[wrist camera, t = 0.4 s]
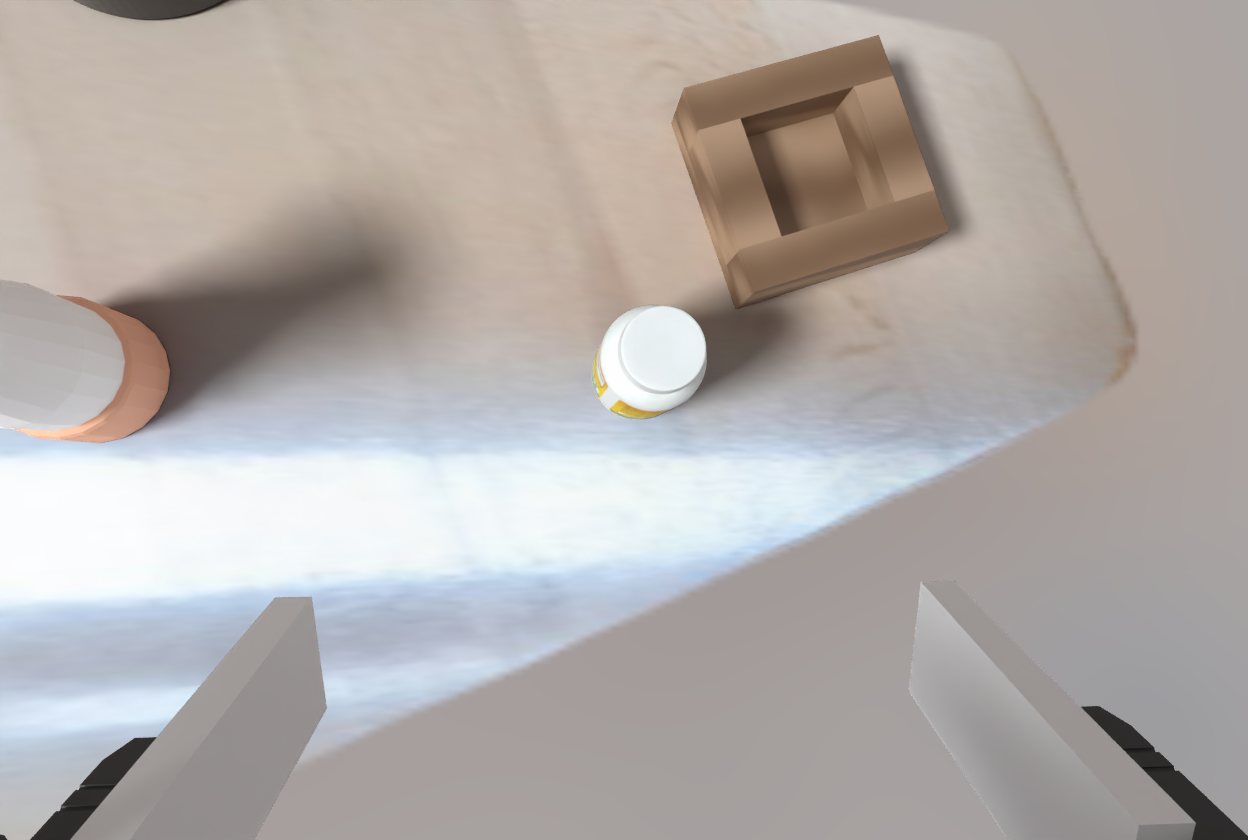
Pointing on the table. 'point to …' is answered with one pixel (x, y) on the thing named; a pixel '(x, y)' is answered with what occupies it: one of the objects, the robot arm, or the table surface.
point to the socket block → (806, 170)
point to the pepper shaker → (75, 367)
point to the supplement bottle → (649, 362)
